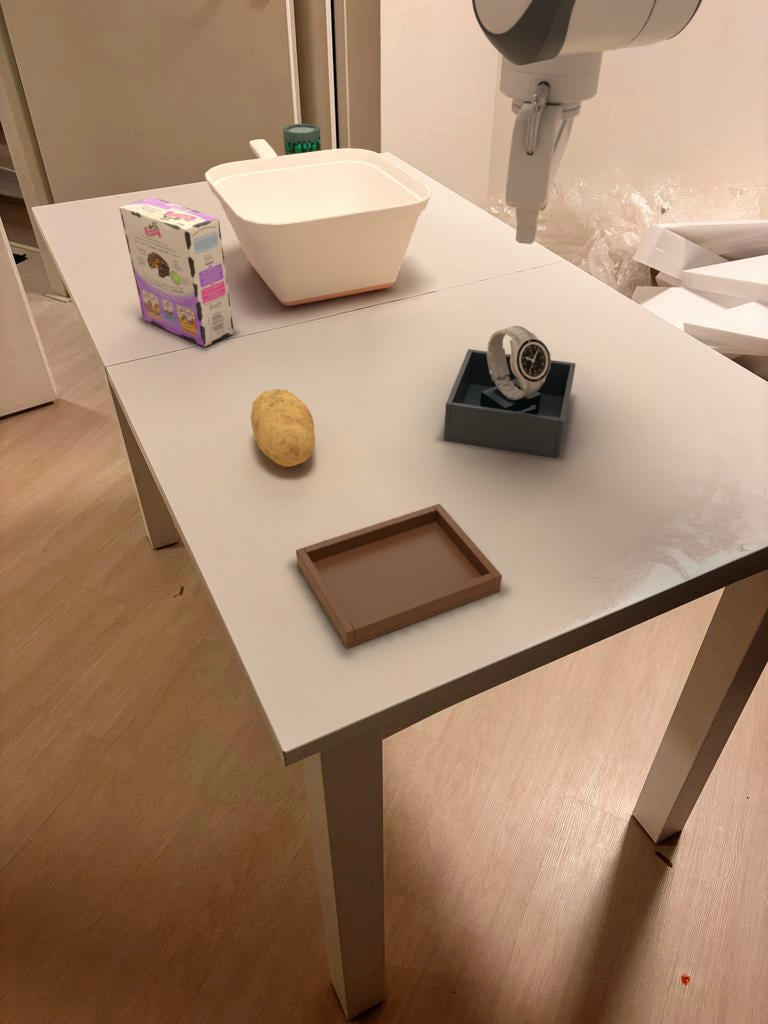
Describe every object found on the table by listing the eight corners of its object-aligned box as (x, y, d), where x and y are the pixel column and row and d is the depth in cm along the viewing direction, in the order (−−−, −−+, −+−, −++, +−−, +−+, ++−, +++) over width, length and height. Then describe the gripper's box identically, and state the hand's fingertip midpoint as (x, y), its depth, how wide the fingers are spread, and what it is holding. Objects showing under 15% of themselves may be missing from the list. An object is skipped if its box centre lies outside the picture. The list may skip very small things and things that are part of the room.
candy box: (236, 333, 113) (221, 216, 103) (204, 349, 110) (185, 229, 99) (173, 306, 120) (152, 193, 109) (141, 320, 116) (117, 205, 106)
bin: (569, 397, 100) (575, 363, 97) (558, 458, 90) (564, 421, 87) (465, 383, 103) (468, 348, 100) (443, 439, 93) (445, 403, 90)
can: (298, 223, 146) (292, 135, 136) (285, 213, 150) (278, 126, 140) (328, 217, 148) (324, 130, 138) (314, 207, 152) (310, 122, 143)
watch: (513, 438, 93) (524, 353, 86) (470, 407, 98) (477, 324, 91) (549, 423, 95) (563, 339, 88) (505, 393, 100) (515, 312, 93)
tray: (438, 518, 82) (439, 503, 81) (500, 590, 74) (502, 575, 73) (296, 565, 77) (295, 549, 76) (346, 648, 69) (346, 633, 68)
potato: (304, 421, 96) (300, 375, 92) (327, 474, 88) (324, 427, 84) (248, 430, 95) (242, 384, 90) (266, 486, 86) (261, 438, 82)
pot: (260, 334, 113) (249, 229, 103) (187, 228, 144) (173, 139, 134) (441, 298, 122) (446, 198, 112) (335, 205, 153) (332, 121, 143)
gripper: (574, 101, 64) (551, 267, 73) (593, 51, 79) (572, 194, 88) (496, 96, 66) (483, 260, 75) (530, 48, 81) (515, 189, 90)
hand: (531, 223), depth 82 cm, fingers open, 8 cm apart
